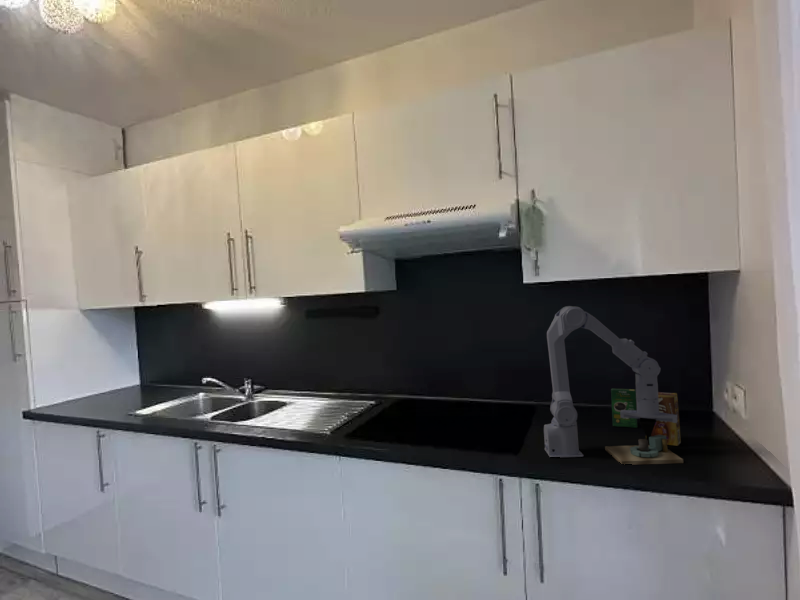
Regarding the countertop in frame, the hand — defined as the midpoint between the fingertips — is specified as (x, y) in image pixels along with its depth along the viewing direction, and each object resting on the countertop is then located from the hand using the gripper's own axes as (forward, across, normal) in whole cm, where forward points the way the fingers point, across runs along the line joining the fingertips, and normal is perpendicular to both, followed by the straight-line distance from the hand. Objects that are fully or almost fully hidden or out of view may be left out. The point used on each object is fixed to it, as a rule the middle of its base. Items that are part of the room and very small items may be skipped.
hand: (649, 444), depth 135 cm
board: (+2, +1, +4) cm, 5 cm away
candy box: (+2, -2, -11) cm, 12 cm away
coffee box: (+2, +11, -26) cm, 28 cm away
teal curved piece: (+1, 0, +4) cm, 4 cm away
